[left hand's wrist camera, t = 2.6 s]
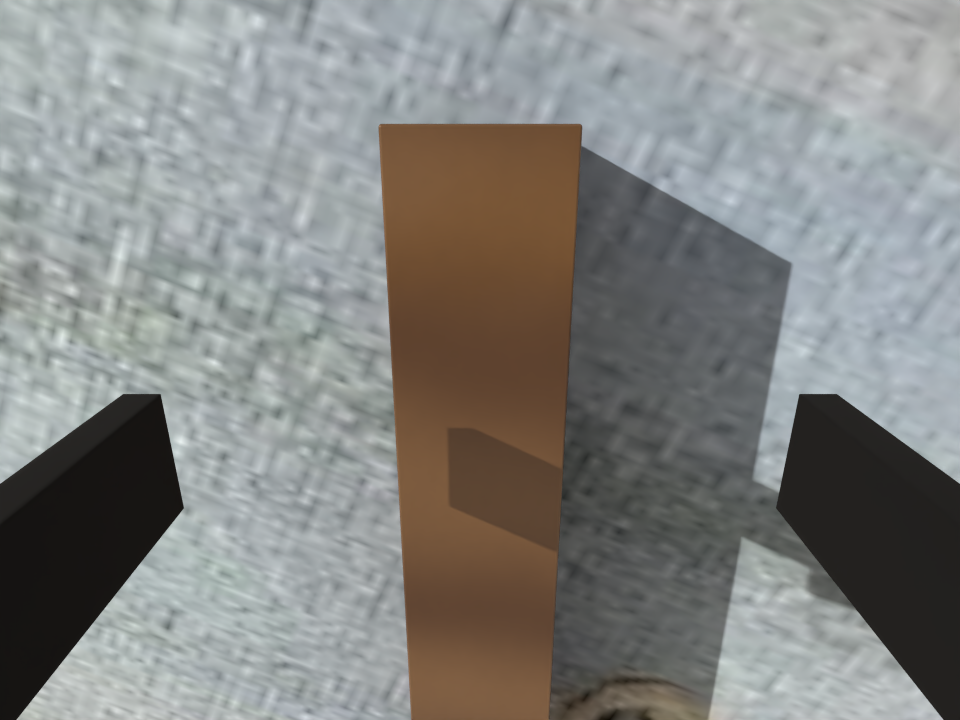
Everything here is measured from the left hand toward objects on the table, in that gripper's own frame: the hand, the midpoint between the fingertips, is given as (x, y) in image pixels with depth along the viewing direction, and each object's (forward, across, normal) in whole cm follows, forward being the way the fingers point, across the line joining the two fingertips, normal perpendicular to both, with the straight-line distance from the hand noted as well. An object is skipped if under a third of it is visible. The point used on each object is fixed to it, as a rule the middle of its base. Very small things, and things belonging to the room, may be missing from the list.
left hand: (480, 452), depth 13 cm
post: (+12, 0, -28) cm, 30 cm away
